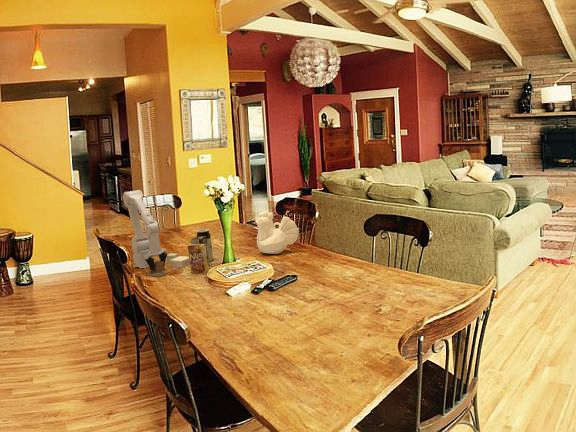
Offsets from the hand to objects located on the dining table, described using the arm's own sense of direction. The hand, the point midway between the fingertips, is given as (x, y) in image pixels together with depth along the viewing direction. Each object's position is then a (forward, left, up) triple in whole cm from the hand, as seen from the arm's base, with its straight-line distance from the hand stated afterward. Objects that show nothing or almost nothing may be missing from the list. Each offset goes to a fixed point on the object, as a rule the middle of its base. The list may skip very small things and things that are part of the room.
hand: (157, 268), depth 300 cm
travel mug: (+12, +26, -2) cm, 29 cm away
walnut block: (0, 0, -2) cm, 2 cm away
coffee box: (+18, +16, -2) cm, 24 cm away
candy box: (+26, +6, -2) cm, 27 cm away
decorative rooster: (+45, +52, -2) cm, 69 cm away
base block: (+4, +14, -2) cm, 15 cm away
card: (+6, -6, -1) cm, 9 cm away
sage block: (-5, +16, -2) cm, 17 cm away
